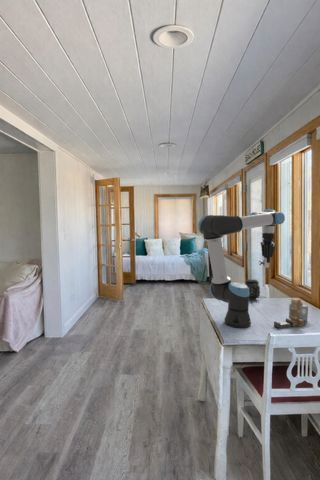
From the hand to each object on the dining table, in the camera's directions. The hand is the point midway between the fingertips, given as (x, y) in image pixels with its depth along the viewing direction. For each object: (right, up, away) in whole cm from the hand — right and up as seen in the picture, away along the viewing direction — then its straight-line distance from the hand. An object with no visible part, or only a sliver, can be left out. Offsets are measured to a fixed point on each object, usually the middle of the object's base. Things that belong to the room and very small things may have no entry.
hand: (266, 267), depth 212 cm
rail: (+3, -32, -30) cm, 43 cm away
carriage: (+7, -32, -28) cm, 43 cm away
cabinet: (+14, -31, -17) cm, 38 cm away
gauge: (+14, -27, -17) cm, 35 cm away
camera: (-1, -28, +30) cm, 41 cm away
